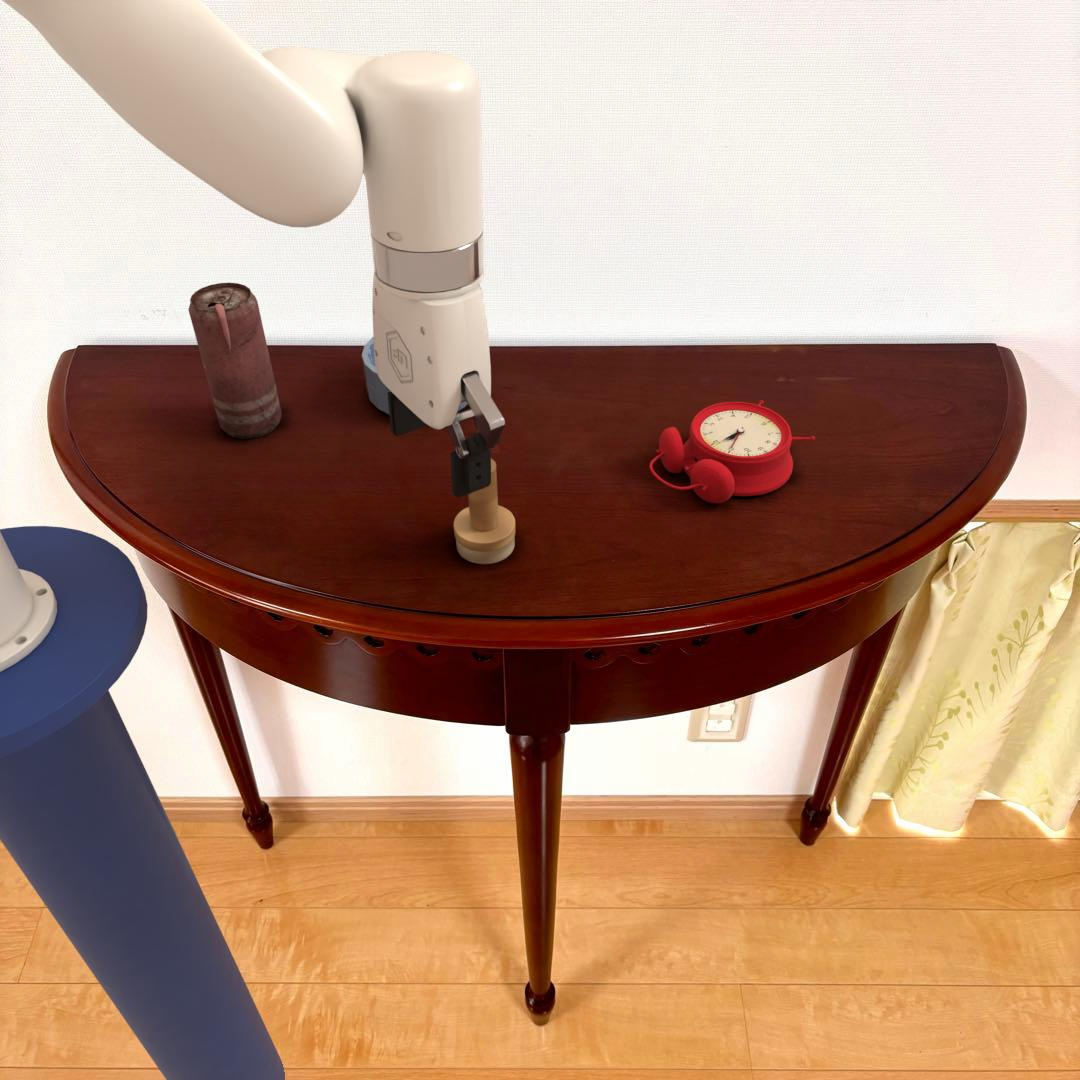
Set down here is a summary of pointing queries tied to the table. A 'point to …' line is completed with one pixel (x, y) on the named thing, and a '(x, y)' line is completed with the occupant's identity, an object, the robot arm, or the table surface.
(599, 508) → the table surface
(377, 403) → the bowl
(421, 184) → the robot arm
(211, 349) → the can
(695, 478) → the alarm clock
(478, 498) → the dish brush
